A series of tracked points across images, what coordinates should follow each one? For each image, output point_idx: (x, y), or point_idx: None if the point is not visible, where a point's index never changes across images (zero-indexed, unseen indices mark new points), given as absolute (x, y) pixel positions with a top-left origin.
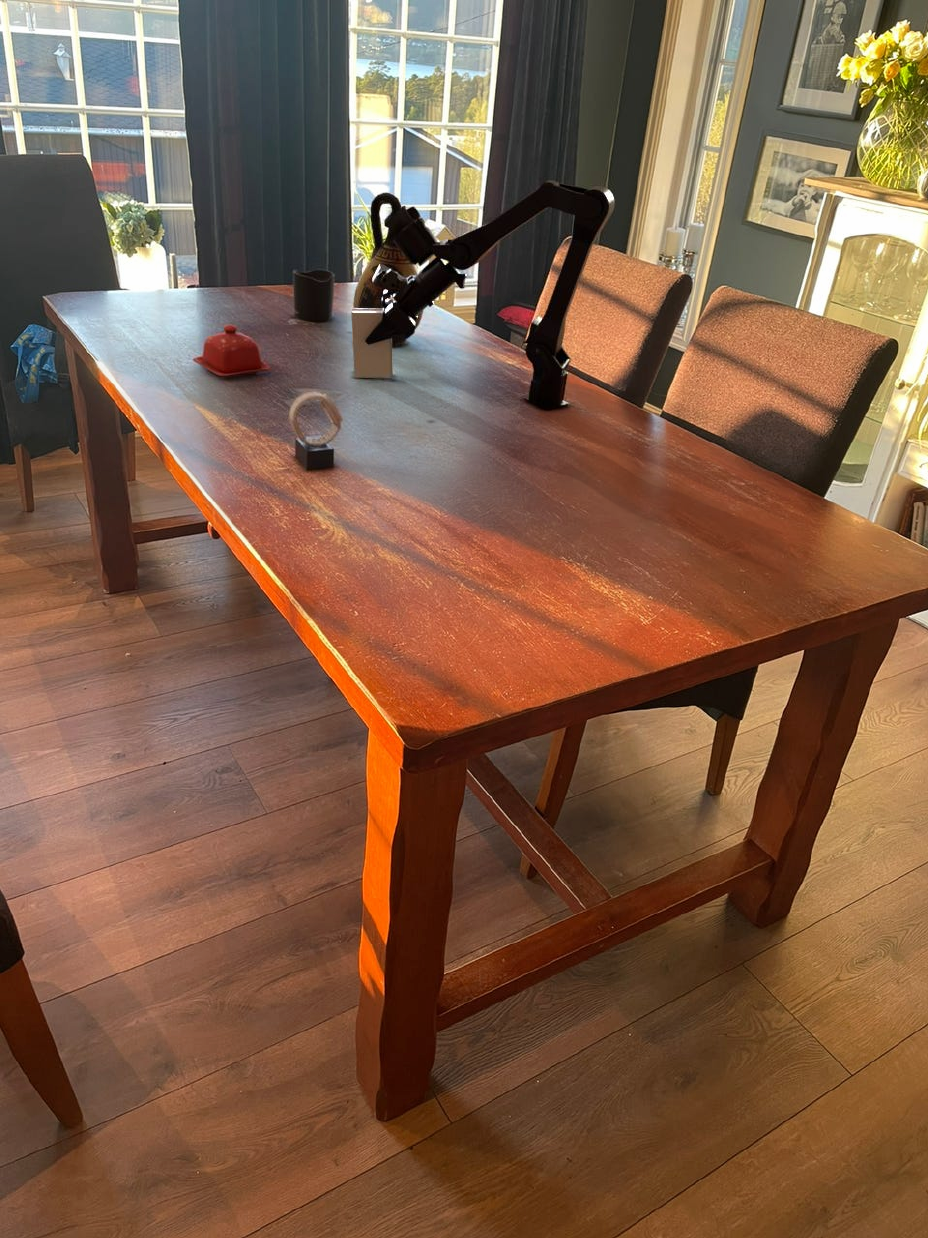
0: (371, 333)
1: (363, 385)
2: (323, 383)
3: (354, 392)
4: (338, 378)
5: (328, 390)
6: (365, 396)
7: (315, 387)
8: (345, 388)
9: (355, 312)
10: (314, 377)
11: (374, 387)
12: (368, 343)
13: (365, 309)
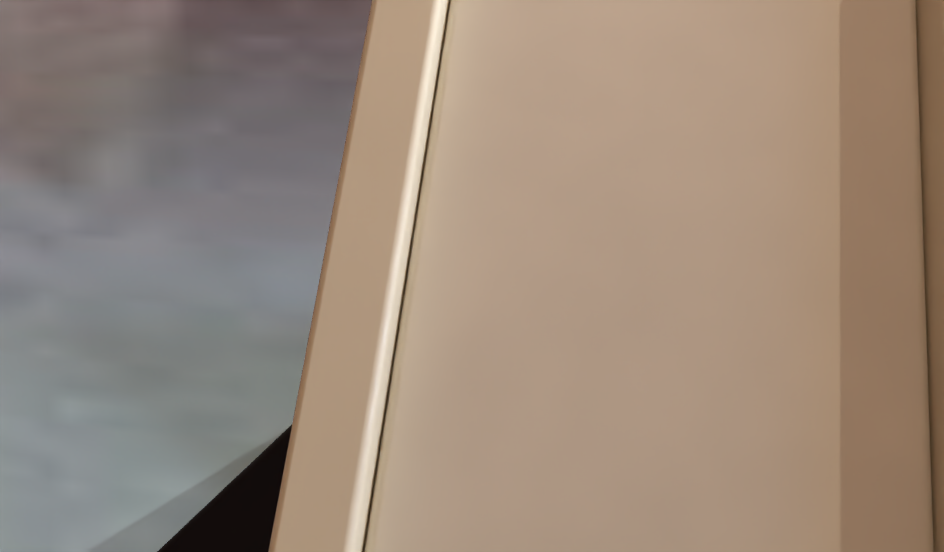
0: (236, 482)
1: (289, 373)
2: (307, 67)
3: (116, 286)
4: None
5: (152, 98)
6: (28, 365)
7: (212, 11)
8: (205, 223)
9: (393, 1)
10: None
11: (246, 462)
12: None
13: (942, 389)
